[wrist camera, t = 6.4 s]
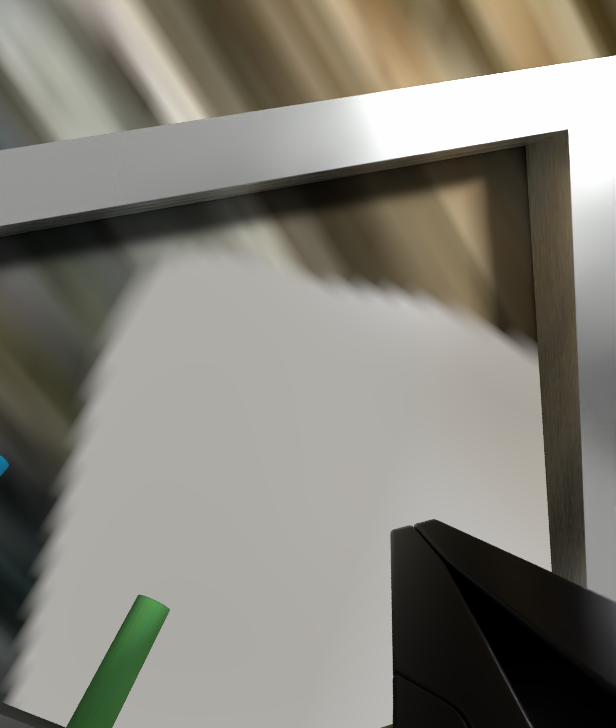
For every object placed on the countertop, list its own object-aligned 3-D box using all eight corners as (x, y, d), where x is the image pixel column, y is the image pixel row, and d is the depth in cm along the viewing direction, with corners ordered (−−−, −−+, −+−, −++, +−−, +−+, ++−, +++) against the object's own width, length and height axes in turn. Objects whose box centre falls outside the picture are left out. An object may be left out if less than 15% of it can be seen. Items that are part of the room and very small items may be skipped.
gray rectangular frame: (569, 82, 9) (620, 55, 8) (593, 690, 13) (630, 733, 11) (-542, 258, 7) (-700, 257, 6) (-129, 924, 10) (-174, 1006, 9)
